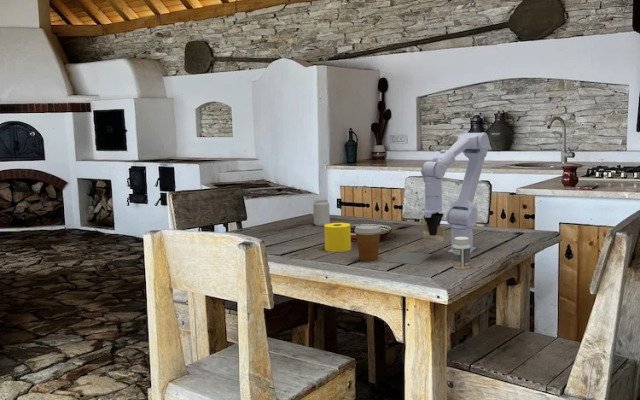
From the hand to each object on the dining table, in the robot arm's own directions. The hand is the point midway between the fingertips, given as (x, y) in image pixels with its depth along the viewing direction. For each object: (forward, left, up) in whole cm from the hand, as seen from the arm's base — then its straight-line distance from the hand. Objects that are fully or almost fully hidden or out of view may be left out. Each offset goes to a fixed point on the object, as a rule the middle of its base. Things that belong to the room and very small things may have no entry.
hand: (433, 234), depth 214 cm
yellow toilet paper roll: (-4, -39, -9) cm, 40 cm away
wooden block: (0, 0, -2) cm, 2 cm away
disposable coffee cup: (+9, -21, -9) cm, 25 cm away
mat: (+3, -8, -9) cm, 12 cm away
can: (-50, -69, -9) cm, 86 cm away
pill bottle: (+9, +12, -9) cm, 17 cm away
